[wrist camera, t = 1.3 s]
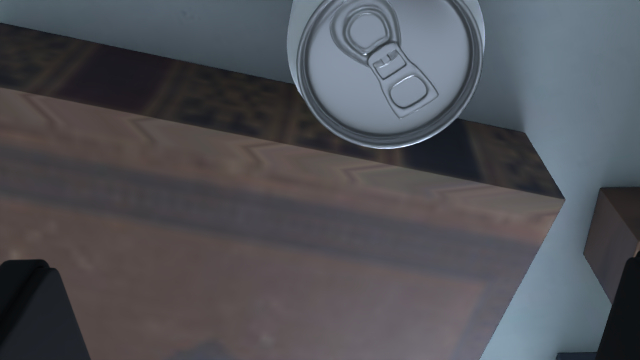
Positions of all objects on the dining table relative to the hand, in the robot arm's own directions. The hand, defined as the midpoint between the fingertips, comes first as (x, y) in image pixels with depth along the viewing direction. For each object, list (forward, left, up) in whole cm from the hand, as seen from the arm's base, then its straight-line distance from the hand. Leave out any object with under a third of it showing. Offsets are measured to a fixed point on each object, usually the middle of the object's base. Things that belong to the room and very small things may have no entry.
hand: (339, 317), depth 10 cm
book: (+6, +16, -22) cm, 28 cm away
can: (-2, -1, -22) cm, 22 cm away
